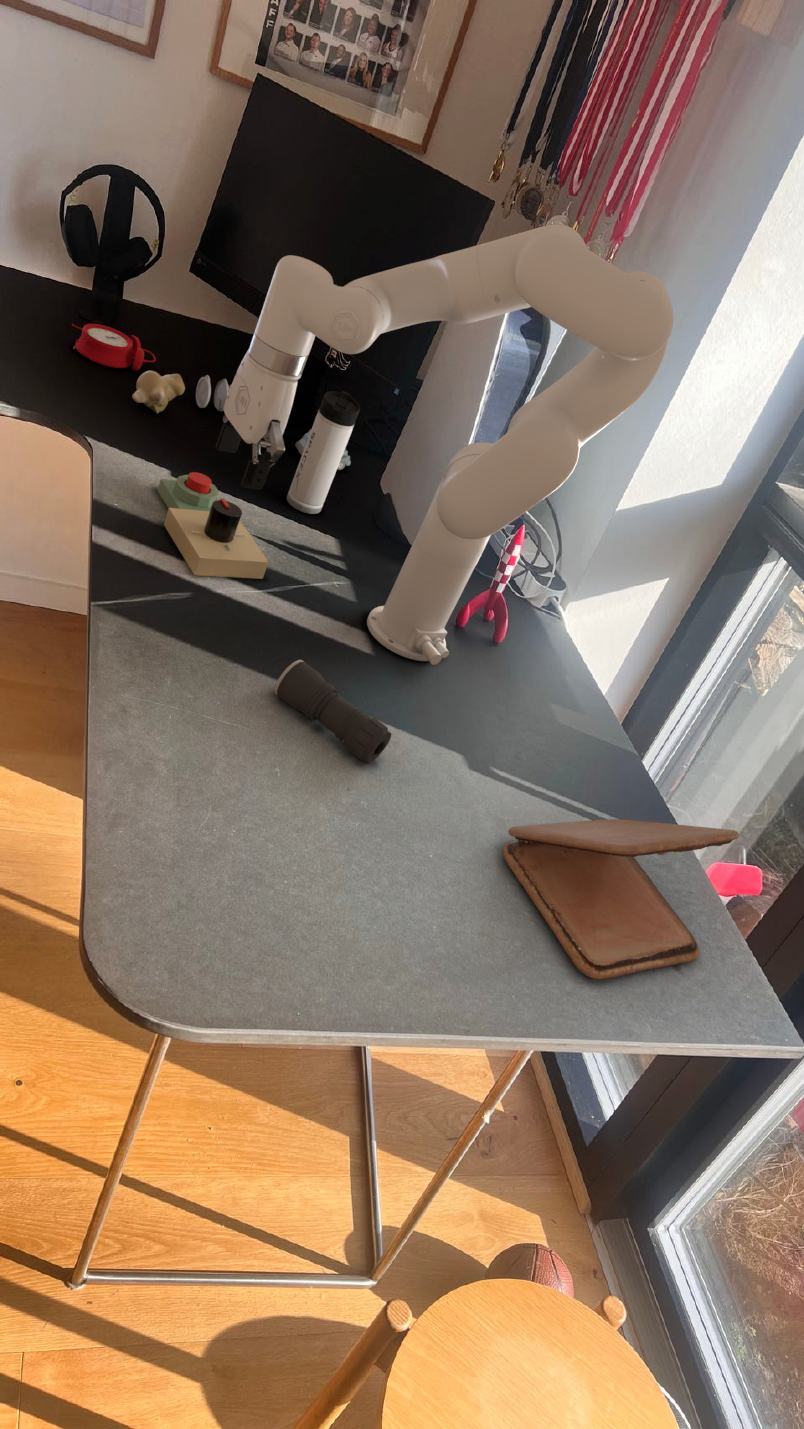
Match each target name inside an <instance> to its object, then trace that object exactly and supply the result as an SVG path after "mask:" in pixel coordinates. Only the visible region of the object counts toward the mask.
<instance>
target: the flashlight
mask: <svg viewBox="0 0 804 1429" xmlns="http://www.w3.org/2000/svg"><path fill="white" fill-rule="evenodd" d="M274 694H275V695H276V696H277V697H278V698H280V699H281V700H283V702H285V703H286V704H288V705H289V706H290V707H291V708H293V709H294V710H297V711H300V712H302V713H303V715H305V716H306V717H307V718H308V719H310V720H311V721H318V722H319V723H320V724H321V725H322V726H323V727H325V728H326V729H327V730H329V731H330V732H331V733H332V734H334V736H335V738H337V739H339V741H341V742H343V743H342V744H344V745H345V746H346V747H348V751H349V752H350V753H351V754H352V755H354V756H355V757H356V758H358V759H359V760H361V761H365V762H366V763H368V764H369V763H372V762H373V761H374V760H376V759H377V758H378V757H379V756H380V755H381V754H382V753H383V751H384V750H385V749H386V747H387V746H388V744H389V742H390V740H391V738H392V732H390V731H389V728H388V726H386V725H385V724H384V723H382V721H380V720H379V719H377V718H376V717H373V718H372V717H371V716H370V715H369V714H366V713H364V712H363V710H361V709H360V708H359V707H356V706H354V705H353V704H352V703H350V702H349V701H348V700H347V699H345V698H344V697H342V696H341V695H339V694H338V691H337V688H336V687H334V686H333V685H331V684H330V683H329V682H327V681H326V680H325V679H324V678H323V676H322V675H321V673H320V672H318V671H317V670H316V669H314V668H313V667H312V666H310V665H309V664H308V663H306V662H305V661H304V660H302V659H298V660H295V661H293V662H292V663H291V664H290V665H289V666H287V667H286V668H285V669H284V671H283V672H282V673H281V675H279V678H278V679H277V681H276V684H275V686H274Z"/></svg>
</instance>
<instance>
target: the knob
mask: <svg viewBox="0 0 804 1429" xmlns="http://www.w3.org/2000/svg"><path fill="white" fill-rule="evenodd" d="M242 515H243V511H242V509H241V508H240V507H239V506H238V505H236V504H235V503H233V502H230V501H228V500H226V498H224V497H221V498H220V499H218V500H216V501H214V502H213V503H212V506H211V510H210V513H209V516H208V519H207V522H206V525H205V528H204V532H205V534H206V535H207V536H208V537H210V538H211V539H213V540H215V541H218V542H223V543H228V542H231V541H232V540H233V538H234V536H235V533H236V530H237V527H238V524H239V521H241V518H242Z"/></svg>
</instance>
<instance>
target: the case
mask: <svg viewBox="0 0 804 1429" xmlns="http://www.w3.org/2000/svg"><path fill="white" fill-rule="evenodd" d="M508 835H509V836H510V837H513V838H515V839H516V840H510V841H508V842H506V843H505V844H504V845H503V847H502V856H503V859H504V860H505V862H506V863H507V865H508V866H509V868H510V870H511V871H512V872H513V874H514V876H515V877H516V879H517V880H518V882H519V883H520V884H521V885H522V887H523V889H524V890H525V892H526V893H527V895H528V896H529V898H530V899H531V901H532V902H533V904H534V905H535V907H536V909H537V910H538V911H539V913H540V914H541V916H542V917H543V919H544V920H545V922H546V923H547V925H548V926H549V928H550V929H551V931H552V932H553V934H554V935H555V937H556V938H557V940H558V942H559V943H560V945H561V947H562V948H563V949H564V951H565V952H566V954H567V956H568V957H569V959H570V960H571V962H572V963H573V965H574V966H575V968H576V969H577V970H578V971H579V972H581V973H582V974H583V975H584V976H586V977H588V978H590V979H594V980H608V979H613V978H617V977H622V976H626V975H630V974H634V973H638V972H639V973H640V972H643V971H648V970H654V969H659V968H660V969H661V968H664V967H670V966H675V965H681V964H686V963H692V962H693V961H695V960H696V959H697V958H698V957H699V956H700V948H699V944H698V942H697V940H696V939H695V937H694V936H693V934H692V933H691V931H690V930H689V929H688V928H687V926H686V925H685V924H684V923H683V921H682V920H681V918H680V917H679V916H678V914H677V913H676V912H675V910H674V909H673V908H672V907H671V905H670V904H669V902H668V901H667V900H666V898H665V897H664V895H662V893H661V892H660V890H659V888H658V887H657V886H656V885H655V883H654V882H653V880H652V879H651V878H650V876H649V875H648V874H647V872H646V871H645V870H644V869H643V868H642V866H641V864H640V863H639V862H638V860H637V859H636V857H640V856H649V855H650V856H651V855H658V856H665V855H666V854H668V853H683V852H690V851H692V852H693V851H697V850H702V849H705V848H709V847H722V846H724V845H727V844H728V845H729V844H731V843H732V842H733V841H735V840H737V839H738V838H739V837H740V833H739V832H738V831H737V830H734V829H729V828H728V829H726V828H717V827H707V826H695V825H685V824H674V823H665V822H655V821H646V820H645V821H644V820H634V819H626V818H625V819H623V818H621V819H620V818H609V819H594V820H593V819H592V820H581V821H570V822H568V821H567V822H553V823H543V824H541V823H540V824H529V825H519V826H512V827H510V828H509V829H508Z"/></svg>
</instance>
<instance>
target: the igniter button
mask: <svg viewBox="0 0 804 1429" xmlns="http://www.w3.org/2000/svg"><path fill="white" fill-rule="evenodd" d="M187 475H188V479H187V482H186V487H187V488H189V489H190V490H192V491H195V492H197V493H202V494H207V493H208V492H209V489H210V486H211V483H212V482H213V481H212V479H211V478H210V477H209V476H208V475H205V474H204V473H202V472H201V473H200V472H195V471H192V472H189V473H188V474H187ZM212 484H213V483H212Z"/></svg>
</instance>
